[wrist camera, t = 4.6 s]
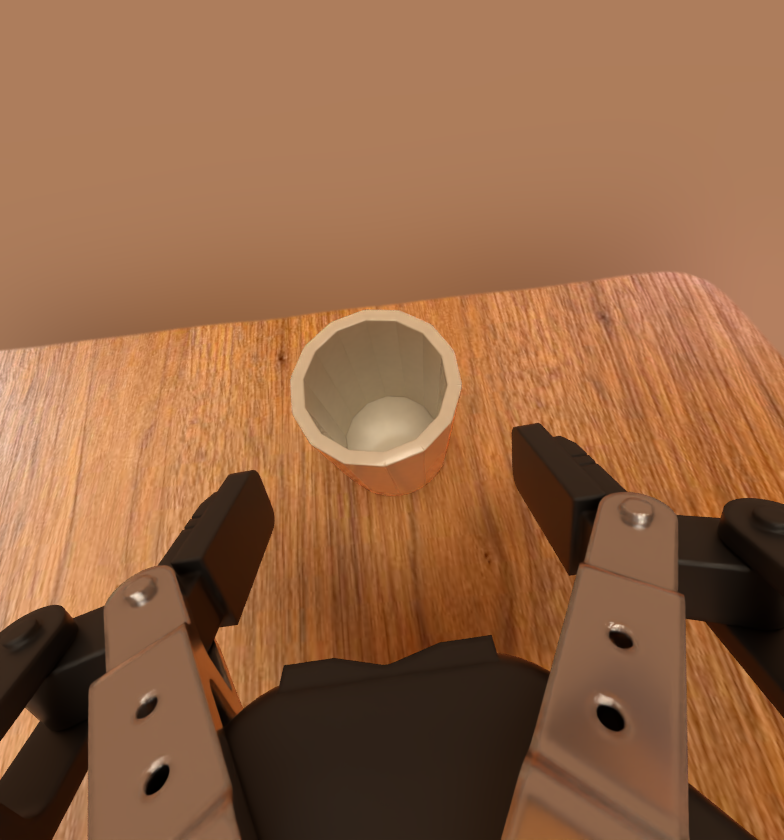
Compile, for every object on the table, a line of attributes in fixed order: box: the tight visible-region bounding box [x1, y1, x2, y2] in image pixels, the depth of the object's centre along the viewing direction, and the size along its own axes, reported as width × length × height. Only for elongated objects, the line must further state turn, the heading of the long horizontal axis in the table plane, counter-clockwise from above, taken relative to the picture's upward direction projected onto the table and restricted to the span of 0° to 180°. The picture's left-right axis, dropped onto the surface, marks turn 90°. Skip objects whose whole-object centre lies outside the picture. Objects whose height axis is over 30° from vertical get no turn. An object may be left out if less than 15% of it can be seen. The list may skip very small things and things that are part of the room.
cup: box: [290, 310, 462, 496], centre depth 16 cm, size 6×6×8 cm
